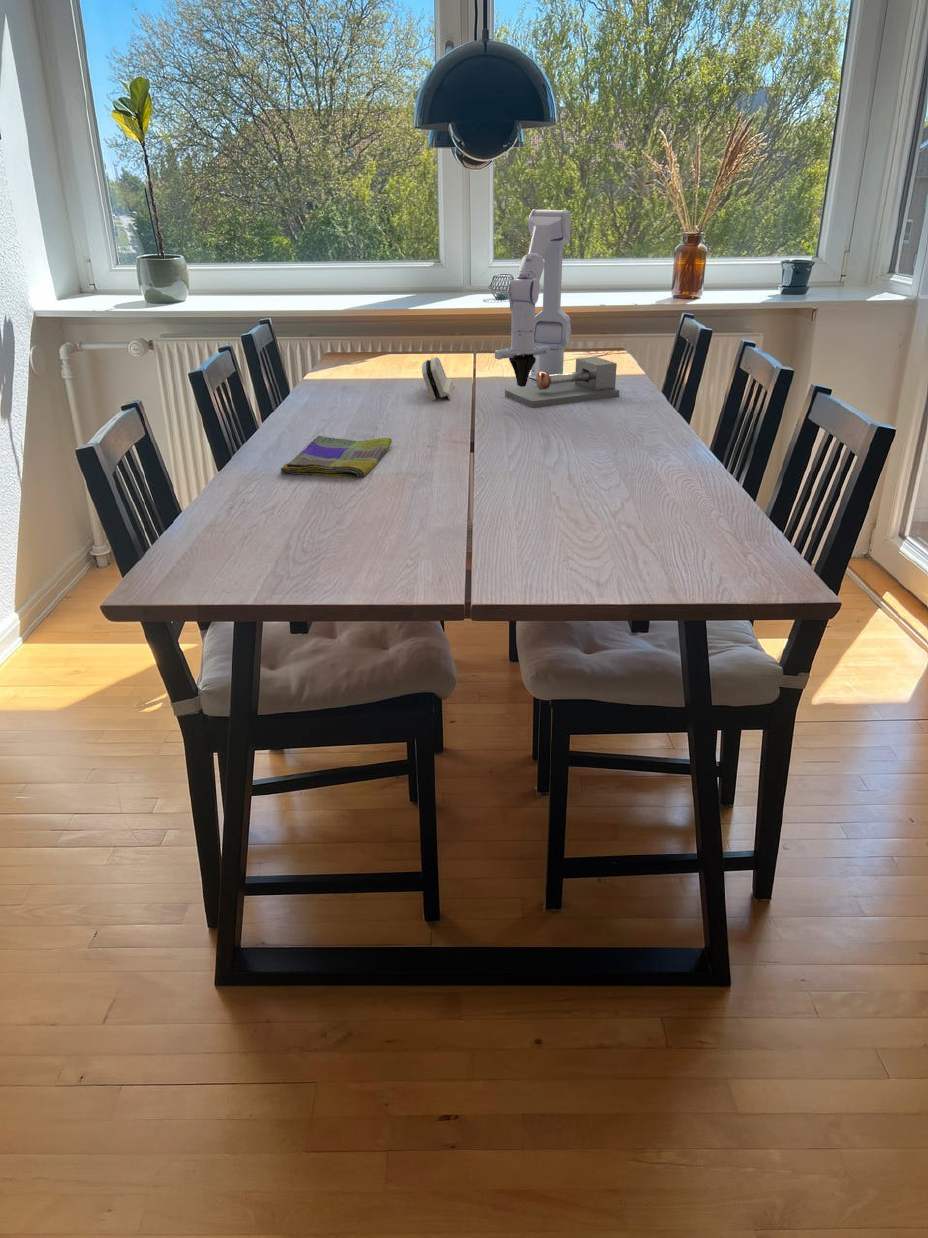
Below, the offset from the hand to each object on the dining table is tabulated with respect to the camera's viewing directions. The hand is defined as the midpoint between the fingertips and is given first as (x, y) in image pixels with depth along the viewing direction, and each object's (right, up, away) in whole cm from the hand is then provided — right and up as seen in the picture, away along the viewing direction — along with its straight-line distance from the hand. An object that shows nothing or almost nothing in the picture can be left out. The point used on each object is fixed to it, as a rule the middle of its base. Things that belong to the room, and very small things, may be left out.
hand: (521, 385), depth 235 cm
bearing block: (+20, +2, +10) cm, 22 cm away
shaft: (+11, +1, +6) cm, 13 cm away
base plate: (+11, -1, +6) cm, 13 cm away
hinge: (-21, 0, +11) cm, 24 cm away
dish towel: (-40, -27, -42) cm, 64 cm away
